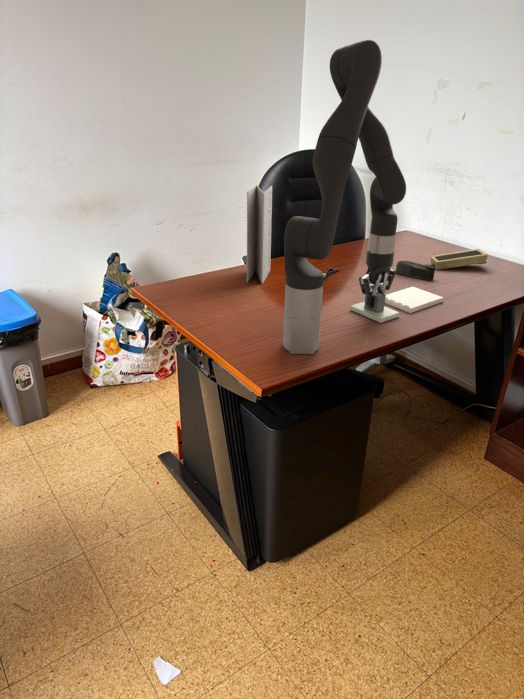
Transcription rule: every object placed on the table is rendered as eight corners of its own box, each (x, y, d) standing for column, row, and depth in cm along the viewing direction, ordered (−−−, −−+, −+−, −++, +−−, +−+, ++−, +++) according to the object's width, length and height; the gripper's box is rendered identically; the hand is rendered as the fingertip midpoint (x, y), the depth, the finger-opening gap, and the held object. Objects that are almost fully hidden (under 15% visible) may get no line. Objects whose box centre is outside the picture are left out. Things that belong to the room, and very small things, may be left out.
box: (488, 267, 195) (488, 254, 193) (427, 276, 196) (427, 263, 194) (479, 260, 203) (479, 248, 200) (420, 270, 203) (420, 257, 201)
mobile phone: (436, 266, 185) (395, 257, 192) (434, 268, 182) (392, 259, 189) (433, 279, 187) (393, 270, 194) (431, 281, 185) (390, 273, 192)
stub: (368, 304, 163) (370, 284, 161) (398, 316, 155) (401, 296, 152) (350, 309, 159) (352, 290, 156) (380, 322, 151) (383, 302, 148)
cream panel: (412, 290, 175) (412, 286, 174) (442, 301, 167) (443, 297, 166) (379, 301, 166) (380, 296, 166) (410, 313, 158) (410, 308, 157)
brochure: (262, 283, 179) (264, 193, 165) (246, 282, 180) (247, 192, 166) (270, 270, 191) (272, 185, 178) (255, 269, 192) (256, 185, 179)
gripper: (387, 242, 154) (380, 297, 162) (353, 249, 147) (348, 307, 155) (407, 248, 149) (399, 304, 157) (374, 256, 141) (367, 315, 149)
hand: (374, 305), depth 156 cm, fingers closed on stub, 3 cm apart
